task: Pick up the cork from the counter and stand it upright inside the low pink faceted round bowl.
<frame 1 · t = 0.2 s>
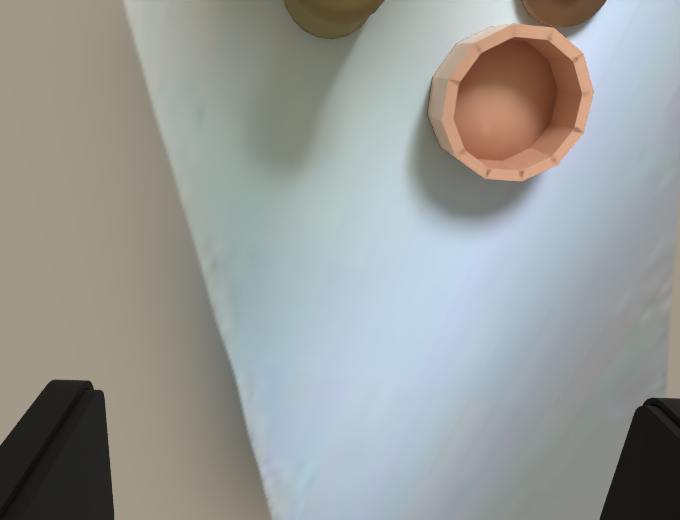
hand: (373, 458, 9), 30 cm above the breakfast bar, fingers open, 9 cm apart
pink faceted round bowl: (495, 101, 37), on the breakfast bar
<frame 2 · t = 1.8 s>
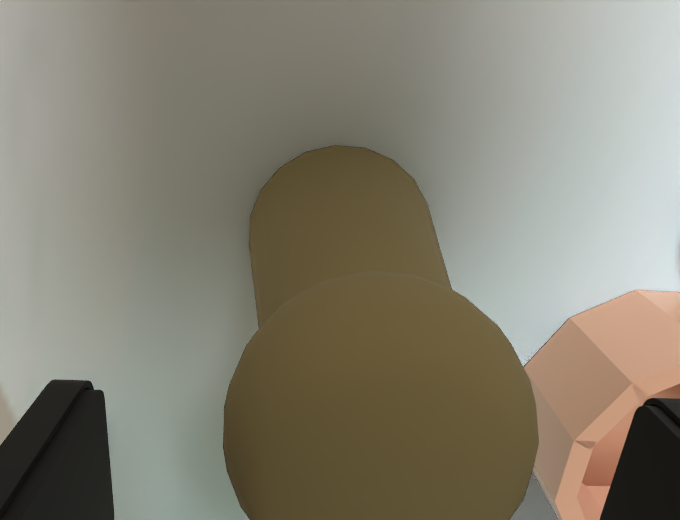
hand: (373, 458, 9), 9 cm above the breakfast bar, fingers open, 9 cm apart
cork: (340, 235, 18), on the breakfast bar
pink faceted round bowl: (630, 397, 21), on the breakfast bar
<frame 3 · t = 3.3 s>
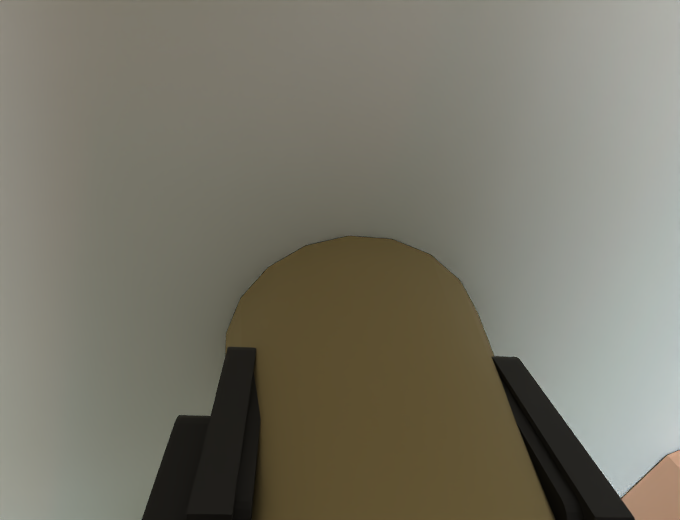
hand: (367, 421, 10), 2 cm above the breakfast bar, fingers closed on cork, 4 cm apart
cork: (354, 354, 13), on the breakfast bar, touching gripper
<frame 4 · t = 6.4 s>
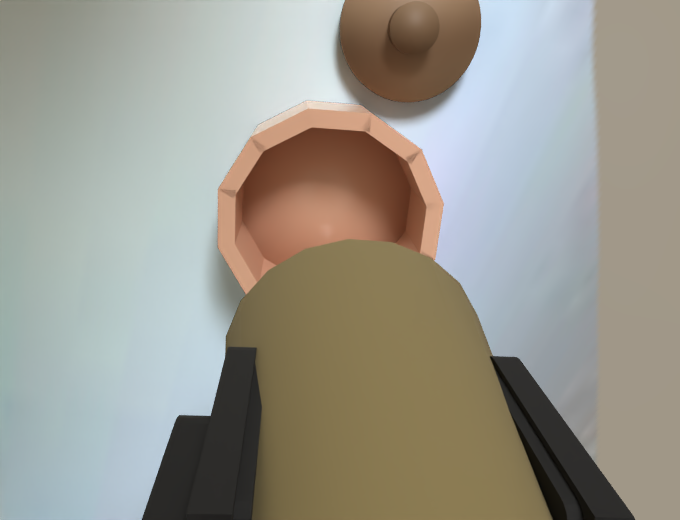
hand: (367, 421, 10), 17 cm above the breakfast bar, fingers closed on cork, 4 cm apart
jar lid: (406, 29, 24), on the breakfast bar
cork: (354, 356, 13), point 14 cm above the breakfast bar, touching gripper
pink faceted round bowl: (326, 201, 26), on the breakfast bar
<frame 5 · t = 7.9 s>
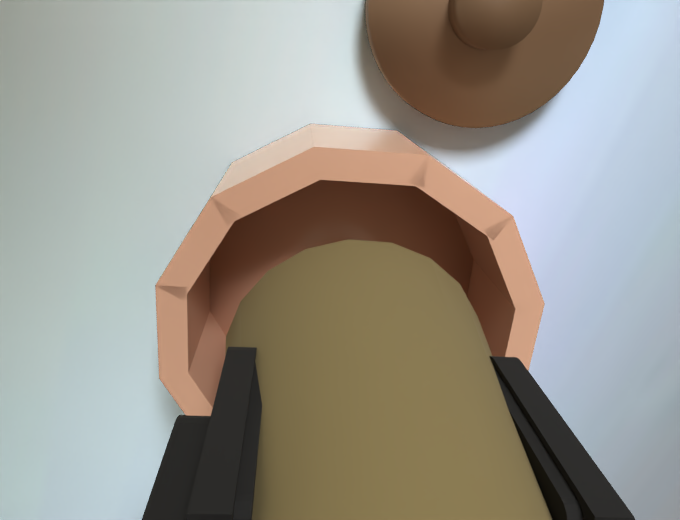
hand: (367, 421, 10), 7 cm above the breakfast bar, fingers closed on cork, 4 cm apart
jar lid: (473, 9, 15), on the breakfast bar
cork: (354, 357, 13), point 5 cm above the breakfast bar, touching gripper
pink faceted round bowl: (340, 277, 17), on the breakfast bar
when the fingers open (5 cm above the breakfast bar, at t = 9.2 s): cork drops 2 cm, resting on pink faceted round bowl.
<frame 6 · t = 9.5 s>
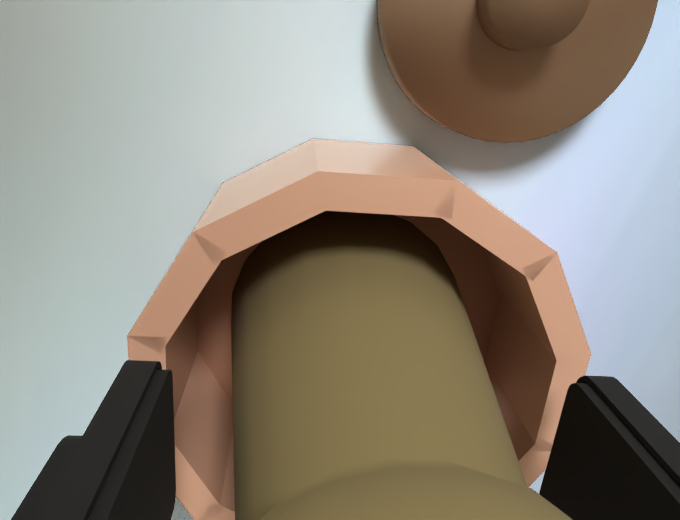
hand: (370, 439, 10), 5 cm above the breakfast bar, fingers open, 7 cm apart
jar lid: (502, 6, 13), on the breakfast bar
cork: (345, 312, 14), resting on pink faceted round bowl
pink faceted round bowl: (346, 312, 15), on the breakfast bar
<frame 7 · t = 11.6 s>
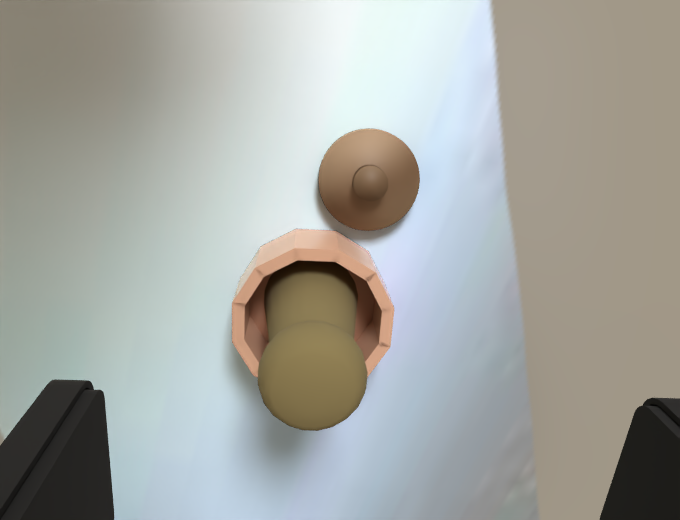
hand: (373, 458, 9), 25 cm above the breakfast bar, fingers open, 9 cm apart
jar lid: (367, 178, 33), on the breakfast bar
cork: (311, 298, 34), resting on pink faceted round bowl
pink faceted round bowl: (312, 298, 35), on the breakfast bar
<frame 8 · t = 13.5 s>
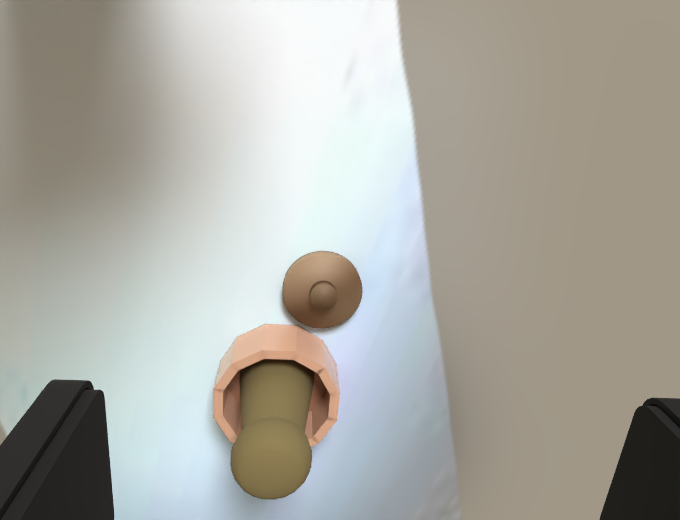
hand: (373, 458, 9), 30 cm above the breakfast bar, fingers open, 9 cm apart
jar lid: (321, 286, 41), on the breakfast bar
cork: (277, 376, 43), resting on pink faceted round bowl
pink faceted round bowl: (278, 375, 44), on the breakfast bar
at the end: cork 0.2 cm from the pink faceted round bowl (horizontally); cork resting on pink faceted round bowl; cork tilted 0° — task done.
